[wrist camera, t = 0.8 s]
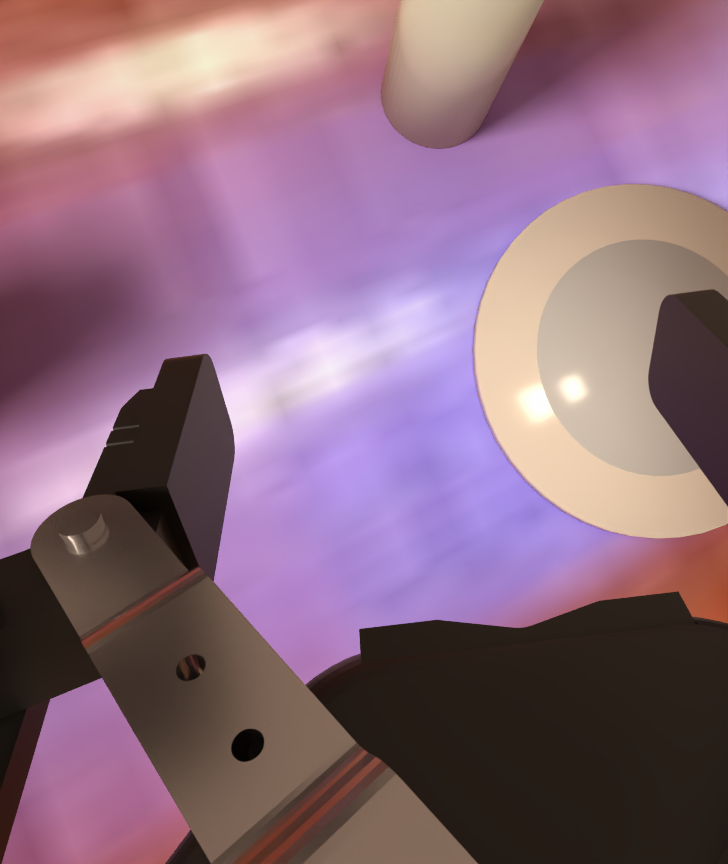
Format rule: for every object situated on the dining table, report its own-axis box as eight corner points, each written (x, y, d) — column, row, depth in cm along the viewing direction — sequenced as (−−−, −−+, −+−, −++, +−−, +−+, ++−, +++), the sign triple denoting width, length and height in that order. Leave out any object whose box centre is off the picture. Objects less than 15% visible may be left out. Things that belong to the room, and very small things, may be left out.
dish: (408, 281, 32) (411, 275, 31) (696, 138, 35) (707, 129, 34) (585, 604, 31) (594, 607, 31) (866, 432, 34) (882, 430, 33)
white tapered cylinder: (361, 71, 33) (401, -169, 21) (454, 31, 34) (542, -222, 22) (413, 165, 33) (482, -25, 21) (506, 122, 34) (622, -84, 22)
